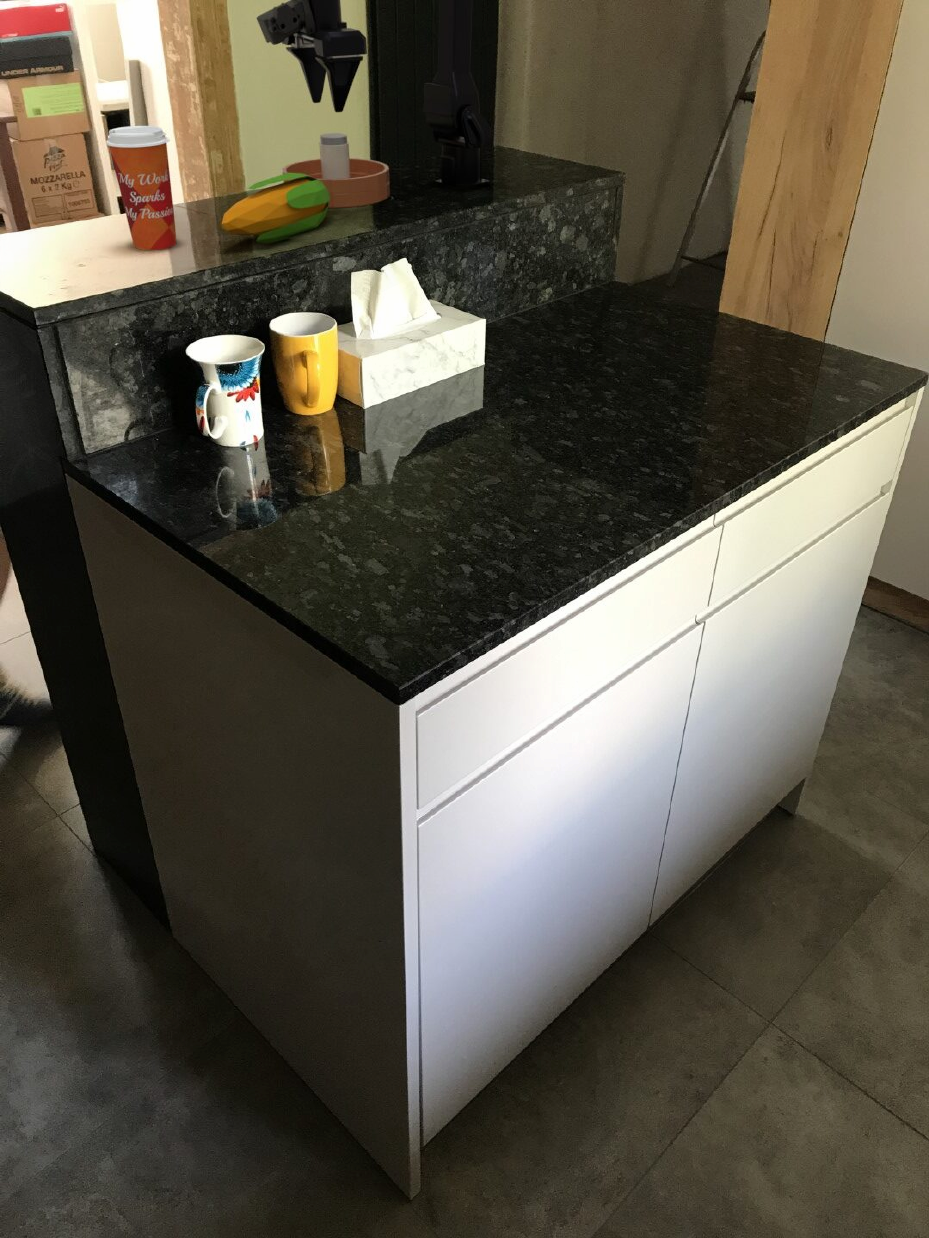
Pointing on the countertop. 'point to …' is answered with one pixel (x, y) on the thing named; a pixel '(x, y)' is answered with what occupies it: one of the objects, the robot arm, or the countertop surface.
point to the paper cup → (144, 184)
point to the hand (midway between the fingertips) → (327, 107)
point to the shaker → (334, 156)
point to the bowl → (349, 182)
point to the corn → (279, 208)
